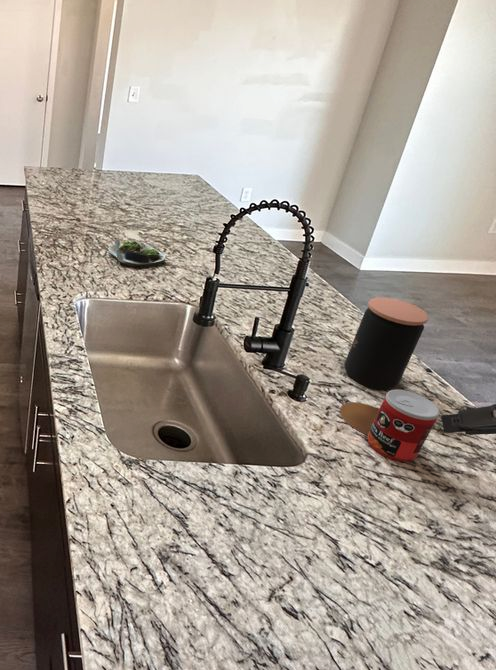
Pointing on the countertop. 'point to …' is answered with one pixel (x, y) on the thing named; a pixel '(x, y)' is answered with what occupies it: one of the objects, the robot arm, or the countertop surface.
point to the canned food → (402, 425)
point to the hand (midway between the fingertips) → (455, 425)
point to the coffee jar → (384, 342)
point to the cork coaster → (359, 416)
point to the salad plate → (136, 254)
